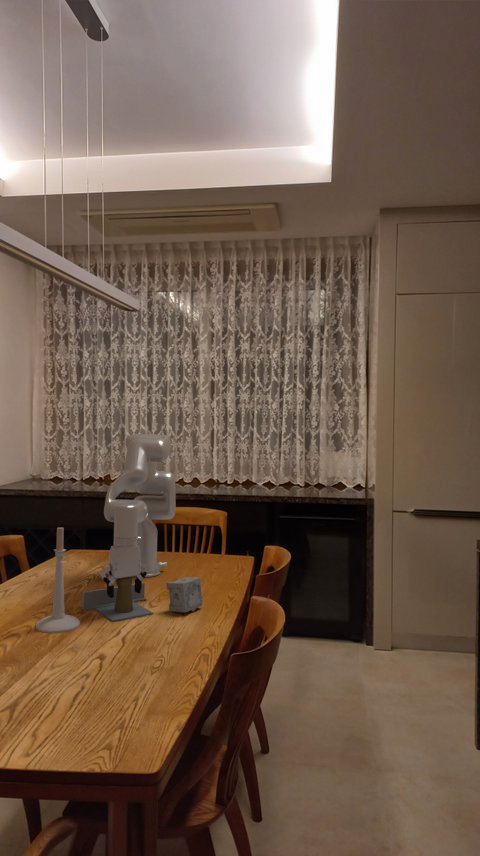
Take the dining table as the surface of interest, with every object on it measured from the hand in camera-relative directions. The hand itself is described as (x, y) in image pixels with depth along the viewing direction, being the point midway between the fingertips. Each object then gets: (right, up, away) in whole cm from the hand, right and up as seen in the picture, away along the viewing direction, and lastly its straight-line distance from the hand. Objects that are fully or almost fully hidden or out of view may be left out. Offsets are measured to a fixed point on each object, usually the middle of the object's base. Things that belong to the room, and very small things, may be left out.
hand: (124, 594), depth 194 cm
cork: (0, -5, 0) cm, 5 cm away
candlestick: (-17, -6, -14) cm, 23 cm away
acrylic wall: (-5, -6, +8) cm, 11 cm away
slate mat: (0, -6, 0) cm, 6 cm away
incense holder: (+19, -7, +4) cm, 21 cm away
